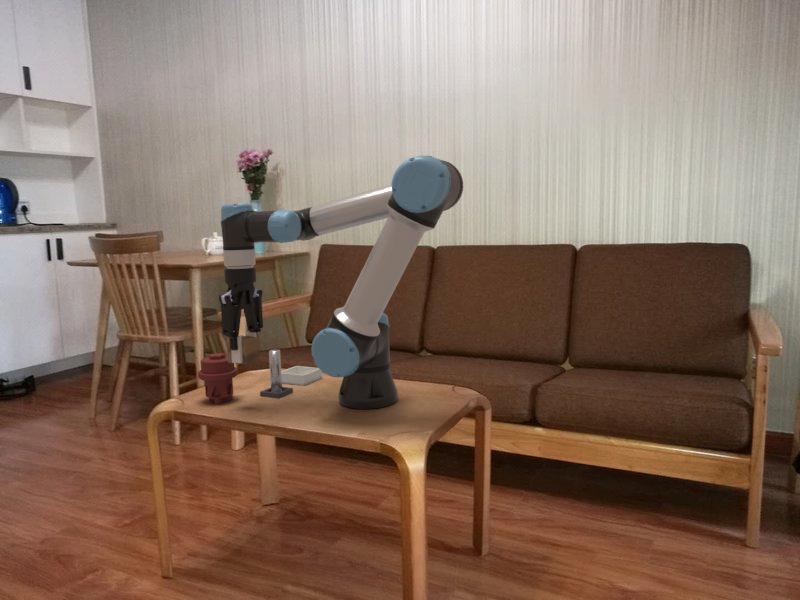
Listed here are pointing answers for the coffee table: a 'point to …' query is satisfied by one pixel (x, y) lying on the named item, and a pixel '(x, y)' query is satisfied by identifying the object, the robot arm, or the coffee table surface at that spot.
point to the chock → (247, 350)
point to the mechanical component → (218, 377)
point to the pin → (275, 371)
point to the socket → (268, 393)
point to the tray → (301, 375)
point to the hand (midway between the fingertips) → (245, 360)
